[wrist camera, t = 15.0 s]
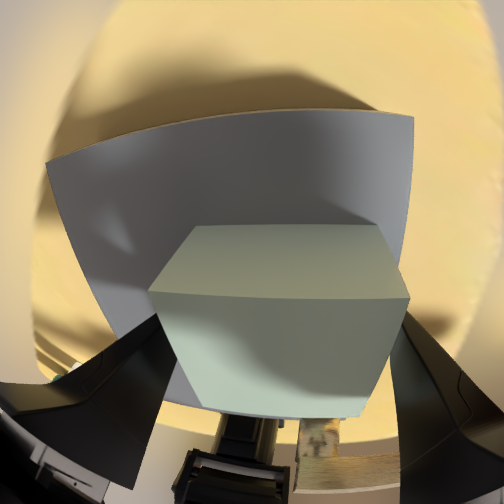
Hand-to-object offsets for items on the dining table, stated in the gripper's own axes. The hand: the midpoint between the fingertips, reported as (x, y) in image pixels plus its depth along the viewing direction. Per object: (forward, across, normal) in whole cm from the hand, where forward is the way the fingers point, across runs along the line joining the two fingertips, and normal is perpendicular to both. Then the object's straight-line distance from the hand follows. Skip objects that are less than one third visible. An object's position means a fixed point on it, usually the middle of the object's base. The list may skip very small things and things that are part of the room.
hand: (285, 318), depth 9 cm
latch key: (+1, -9, +9) cm, 13 cm away
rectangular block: (+1, 0, 0) cm, 1 cm away
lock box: (+5, +3, +2) cm, 6 cm away
